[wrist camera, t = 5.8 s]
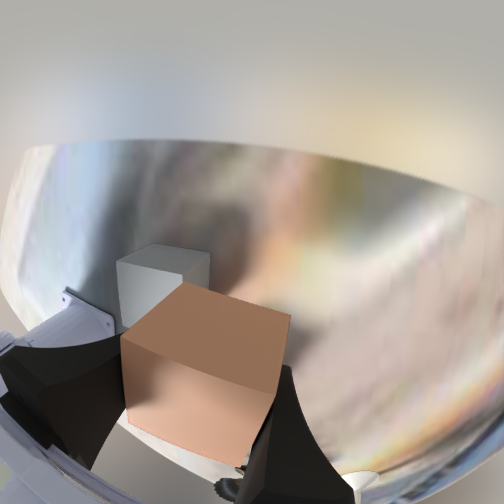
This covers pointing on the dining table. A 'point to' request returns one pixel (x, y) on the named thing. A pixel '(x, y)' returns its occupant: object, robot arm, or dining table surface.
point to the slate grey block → (157, 277)
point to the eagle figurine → (229, 487)
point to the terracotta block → (203, 371)
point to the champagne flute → (360, 482)
